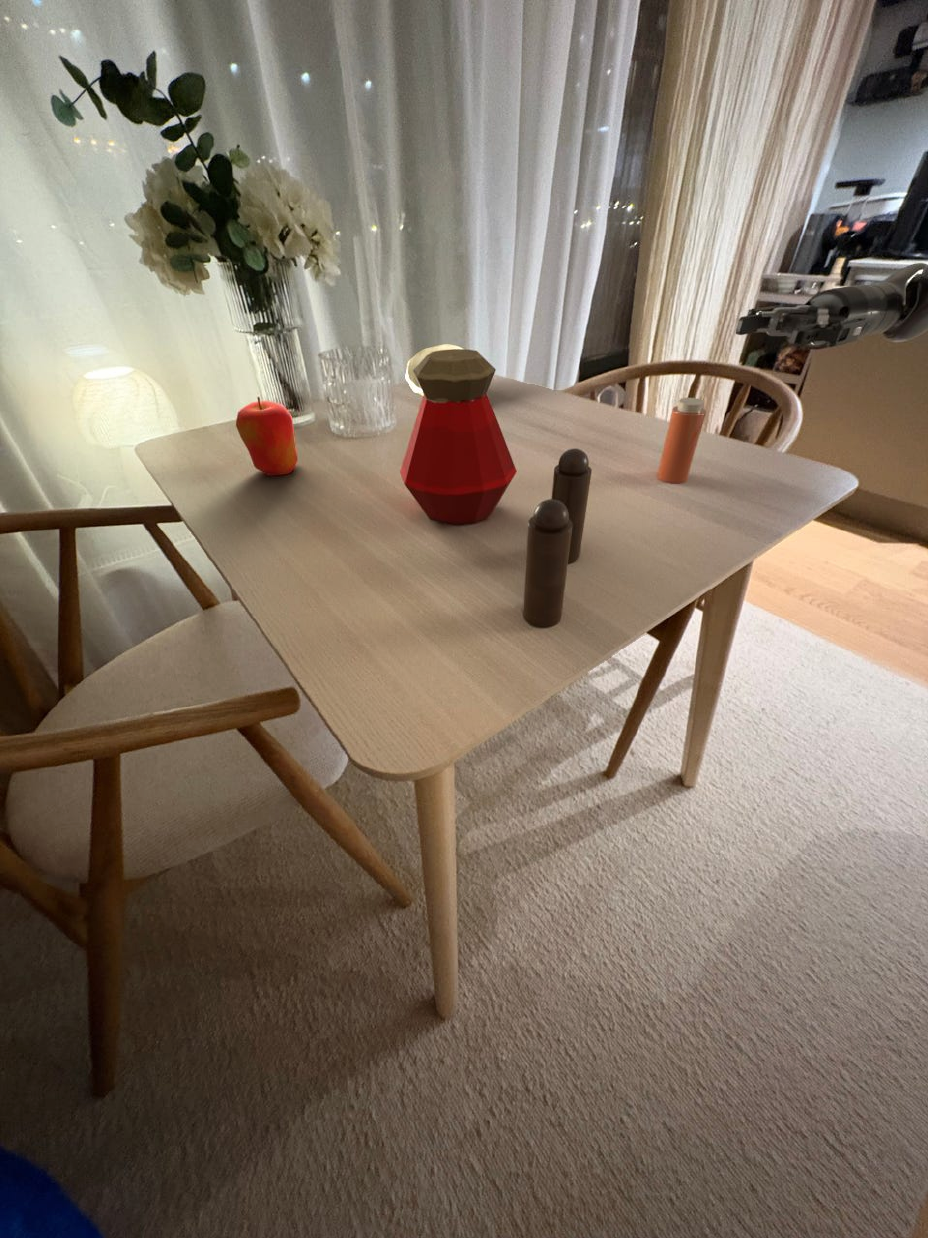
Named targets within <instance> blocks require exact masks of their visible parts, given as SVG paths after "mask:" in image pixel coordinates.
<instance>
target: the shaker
mask: <svg viewBox="0 0 928 1238" xmlns="http://www.w3.org/2000/svg"><path fill="white" fill-rule="evenodd" d="M704 403H705V402H704V400H702V399H700V398H697V397H683V398H680V399H679V400H678V404H677V405H676V406H674V407H672V409H671V410H672V411H671V414H670V418H669V423H668V428H667V431H666V436H665V439H664V444H663V449H662V452H661V457H660V461H659V465H658V470H657V474H656V477H657V479H659V480H660V481H662V482H665V483H667V484H682V483H685V482H686V481H688V478H689V475H690V471H691V468H692V464H693V460H694V457H695V453H696V449H697V447H698V442H699V438H700V435H701V431H702V428H703V424H704V420H705V417H706V413H707V411H706V409H704Z"/></svg>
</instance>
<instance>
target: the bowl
mask: <svg viewBox="0 0 928 1238" xmlns="http://www.w3.org/2000/svg"><path fill="white" fill-rule="evenodd" d="M449 349H463V347H460V346H458V345H455V344H447V343H446V344H445V343H444V344H439V345H434V346H431V347H427V348H424V349H422V350H420V351H419V352H416V353H415V355H414V356H413V357H411V358H410V359H408V362H407V367H406V373H405V380H406V381H407V383H408V384H409V387H410V388H411V390H412V392H414V393H415V394H419V395H420V396H422V397H423V395H424V394H423V391H422V389H421V387H420V385H419V383H418V381H417V379H416V376H415V374H414V372H413V370H414V369H415V368H416V367H417V366H418V365H419V363H420V362H421V361H422V360H423V359H424V358H425V357H426V355H428V354H430V353H431V352H434V351H440V350H449Z"/></svg>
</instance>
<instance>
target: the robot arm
mask: <svg viewBox="0 0 928 1238" xmlns="http://www.w3.org/2000/svg"><path fill="white" fill-rule="evenodd" d="M779 322H781V325H780V329H778V330H777V326H778V323H779ZM736 324H737V325H736V328H735V334H736V335H738V336H743V335H748V334H757V333H766V334H767V335H768V336H769V337H788V338H790V339H789V341H788V346H789V347H794V348H795V347H800V346H803V347H805V348H807V349H809V350H814V351H815V350H823V349H829V348H833V347H838V346H843V345H846V344H849V343H853V342H856V341H858V340H861V339H864V338H869V337H873V336H876V335H880V334H882V337H883V338H884V339H885V340H886V341H888V342H891V343H904V342H908V341H911V340H913V339H915V338H917V337H919V336H921V335H923V334H925V333H926V332H927V331H928V264H927V263H924V262H915V263H912V264H909V265H906V266H904V267H902V268H900V269H898V270H896V271H895V272H892V273H891V274H890V275H889V276H887V277H886V278H884V279H883V280H882V281H880V282H877V283H872V284H855V285H849V286H841V287H836V288H830V289H824V290H822V291H820V292H818V293H816V294H814V295H813V296H811V298H809V299H808V300H807V301H806V303H805V304H798V305H796V306H791V307H782V305H778V304H775V305H771V306H765V307H758V308H750V309H748V312H747V315H744V316H740V318H739V319H738V321H737V323H736Z"/></svg>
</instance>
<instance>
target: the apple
mask: <svg viewBox="0 0 928 1238" xmlns="http://www.w3.org/2000/svg"><path fill="white" fill-rule="evenodd" d="M256 397H257V401H254V402H253V401H252V402H250V403H249V404H247V405H245V406H244V407H242V408H240V410H239V411H238V412H237V416H236V421H235V427H236V429H237V432H238V435H239V437H240V438H241V441H242V442H243V444H244V446H245V447H246V449H247V451H248V453H249V456H250V459H251V461H252V464H253V467H254V468H255V469H256V470H258V471H260V472H261V473H264V474H265V475H267V476H281V475H282V476H283V475H288V474H289V473H292V471H294V469H295V467H296V465H297V462H298V452H297V446H296V445H297V444H296V439H295V429H294V423H293V416H292V415H291V413H290V411H289V410H288V409H287V407H286V406H285V405H283V404H281V403H277V402H274V401H268V400H261V397H259V396H256Z"/></svg>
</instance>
